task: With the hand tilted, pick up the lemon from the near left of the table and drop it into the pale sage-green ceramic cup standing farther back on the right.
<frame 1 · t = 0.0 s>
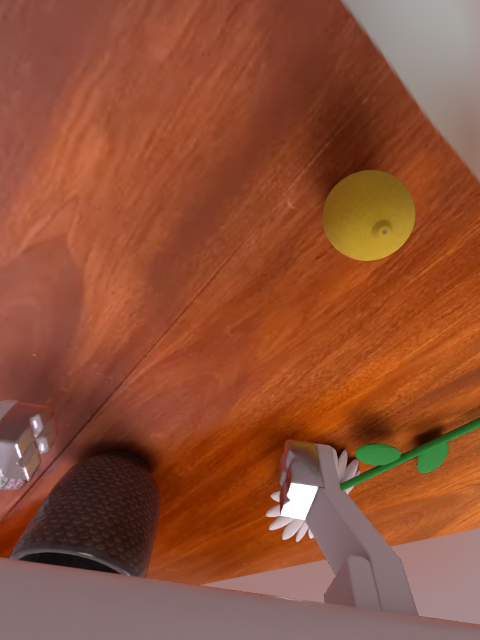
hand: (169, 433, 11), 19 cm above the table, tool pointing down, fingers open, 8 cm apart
planter: (122, 467, 45), on the table
decorative flower: (379, 447, 39), on the table
lemon: (351, 203, 25), on the table
pastry: (12, 457, 45), on the table
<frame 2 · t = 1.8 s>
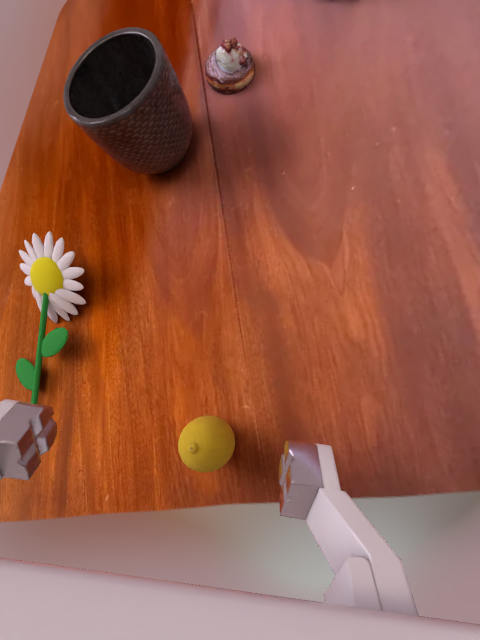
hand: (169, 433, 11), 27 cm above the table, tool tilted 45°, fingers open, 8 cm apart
planter: (165, 152, 51), on the table
decorative flower: (56, 343, 48), on the table
lemon: (221, 438, 38), on the table
pastry: (231, 76, 50), on the table
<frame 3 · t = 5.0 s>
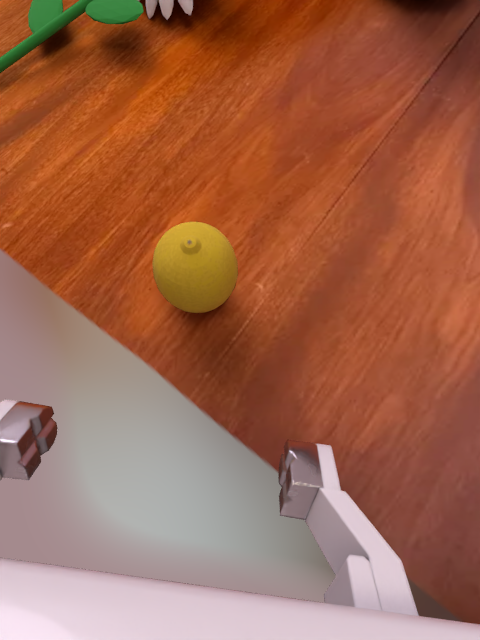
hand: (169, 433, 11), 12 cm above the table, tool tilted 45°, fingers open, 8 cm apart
decorative flower: (109, 25, 32), on the table
lemon: (200, 291, 26), on the table
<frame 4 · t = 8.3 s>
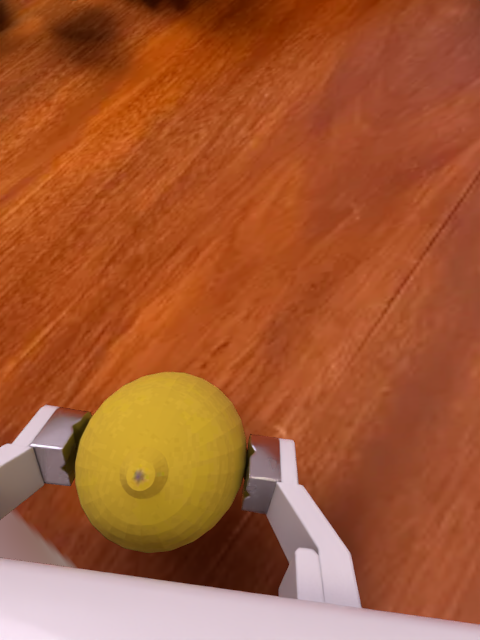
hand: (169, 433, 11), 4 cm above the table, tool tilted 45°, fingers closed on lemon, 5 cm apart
lemon: (183, 438, 16), on the table, touching gripper
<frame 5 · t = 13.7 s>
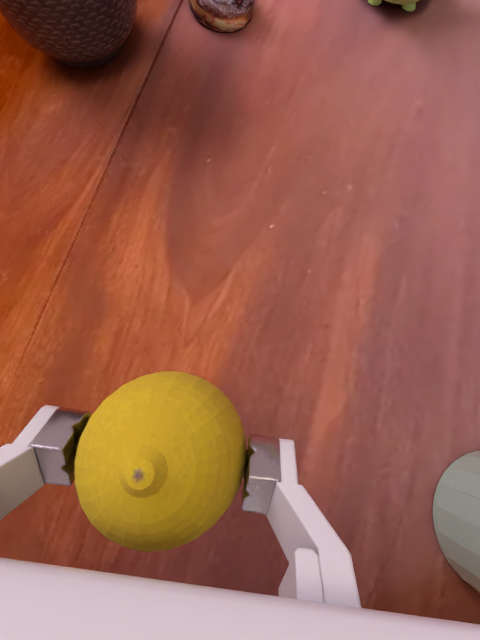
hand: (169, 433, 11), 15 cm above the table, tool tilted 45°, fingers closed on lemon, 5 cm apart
planter: (87, 42, 35), on the table
lemon: (183, 437, 16), point 11 cm above the table, touching gripper
pastry: (221, 9, 37), on the table
when the fingers open (9 cm above the table, at t = 19.3 s): lemon drops 3 cm, resting on cup.
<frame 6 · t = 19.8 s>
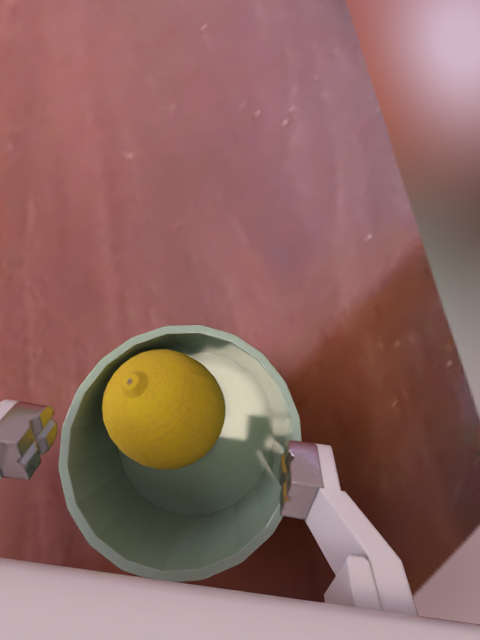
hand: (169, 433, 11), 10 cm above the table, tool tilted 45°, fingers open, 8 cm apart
cup: (197, 428, 21), on the table
lemon: (195, 428, 20), point 1 cm above the table, touching cup
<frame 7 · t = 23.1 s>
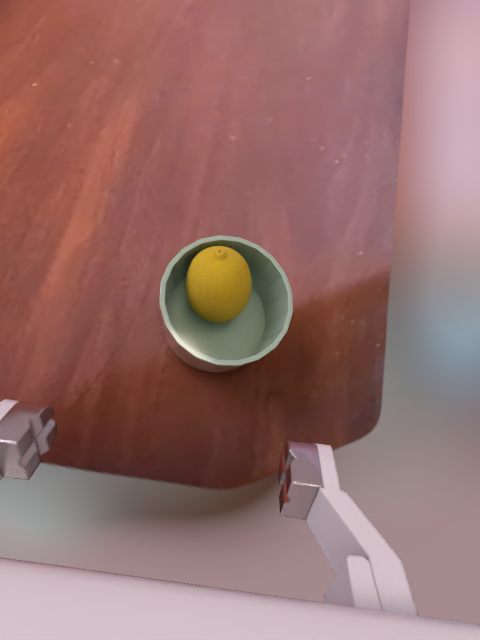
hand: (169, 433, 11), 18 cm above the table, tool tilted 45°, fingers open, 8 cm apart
cup: (215, 318, 32), on the table
lemon: (217, 315, 31), point 1 cm above the table, touching cup
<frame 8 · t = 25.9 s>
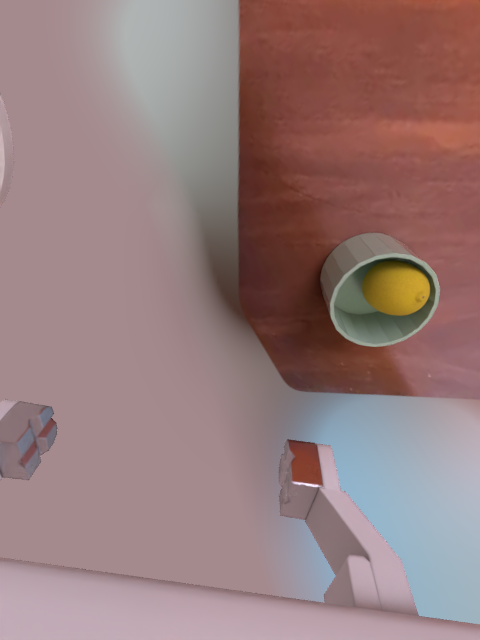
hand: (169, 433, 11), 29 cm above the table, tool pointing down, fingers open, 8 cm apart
cup: (365, 276, 38), on the table
lemon: (368, 279, 38), point 1 cm above the table, touching cup
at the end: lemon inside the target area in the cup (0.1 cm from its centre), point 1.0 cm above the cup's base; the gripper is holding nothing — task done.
